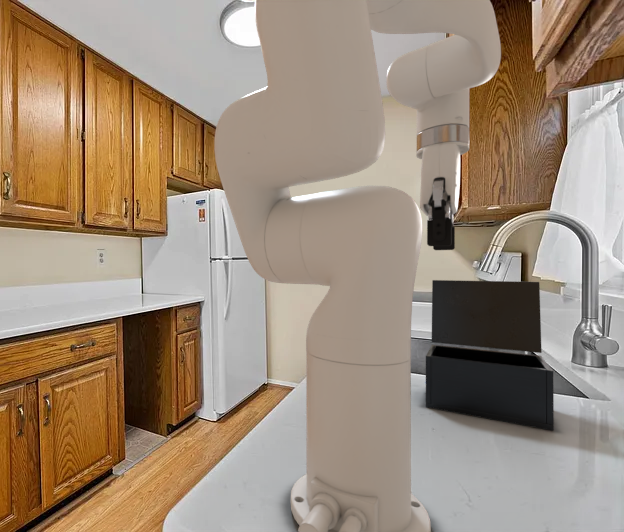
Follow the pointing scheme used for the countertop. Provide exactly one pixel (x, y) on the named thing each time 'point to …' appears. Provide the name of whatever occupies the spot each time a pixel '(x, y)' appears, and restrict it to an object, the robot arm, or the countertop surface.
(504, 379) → the bin
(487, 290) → the bin lid
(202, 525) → the countertop surface
